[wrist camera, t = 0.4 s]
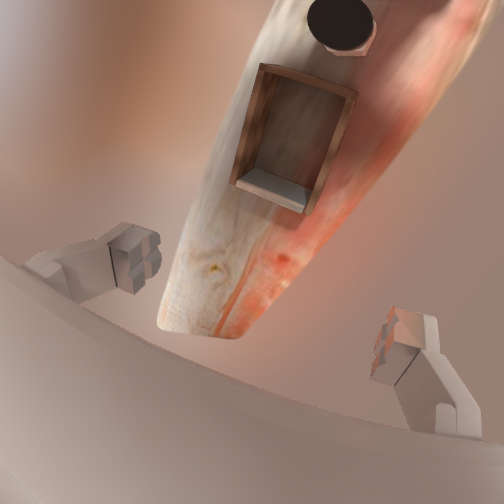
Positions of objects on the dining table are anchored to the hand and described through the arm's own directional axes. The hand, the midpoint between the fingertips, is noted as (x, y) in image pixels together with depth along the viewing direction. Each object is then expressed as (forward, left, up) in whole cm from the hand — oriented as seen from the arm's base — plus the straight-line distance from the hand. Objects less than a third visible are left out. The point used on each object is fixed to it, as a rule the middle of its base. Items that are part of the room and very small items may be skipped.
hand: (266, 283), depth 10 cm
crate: (+6, -8, -45) cm, 46 cm away
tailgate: (+16, -8, -45) cm, 48 cm away
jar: (-13, -6, -45) cm, 47 cm away
